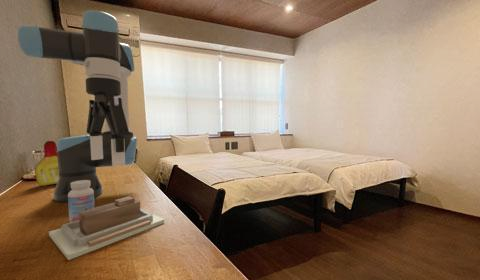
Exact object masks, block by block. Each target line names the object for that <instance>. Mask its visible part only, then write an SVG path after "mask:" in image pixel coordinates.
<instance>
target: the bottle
mask: <svg viewBox="0 0 480 280" xmlns="http://www.w3.org/2000/svg"><path fill="white" fill-rule="evenodd" d="M43 150H44V153H43V158H41V159H40V160H39V161H38V162H37V164H36V165H35V168H34V172H35V173H34V174H35V178H36V179H35V180H36V182H37V185H39V186H40V187H42V186H49V185H55V184H56V185H57V183H58V180H59V170H58V155H57V142H56V141H53V140H47V141H45V143H44V144H43Z"/></svg>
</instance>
